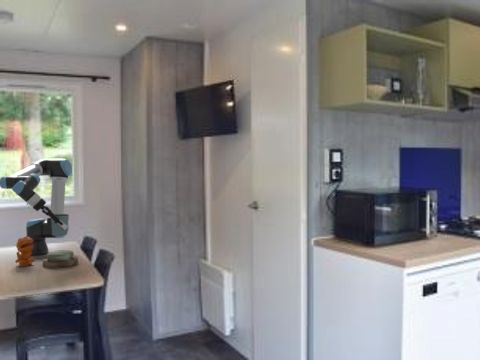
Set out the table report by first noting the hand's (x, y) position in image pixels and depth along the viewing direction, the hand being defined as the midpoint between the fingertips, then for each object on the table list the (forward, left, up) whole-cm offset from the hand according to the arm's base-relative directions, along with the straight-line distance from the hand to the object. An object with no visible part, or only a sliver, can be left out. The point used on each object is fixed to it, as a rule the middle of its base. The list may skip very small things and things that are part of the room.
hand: (65, 227), depth 275 cm
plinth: (+2, -3, -23) cm, 23 cm away
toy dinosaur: (+7, -23, -23) cm, 33 cm away
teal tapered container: (+2, -3, -5) cm, 6 cm away
